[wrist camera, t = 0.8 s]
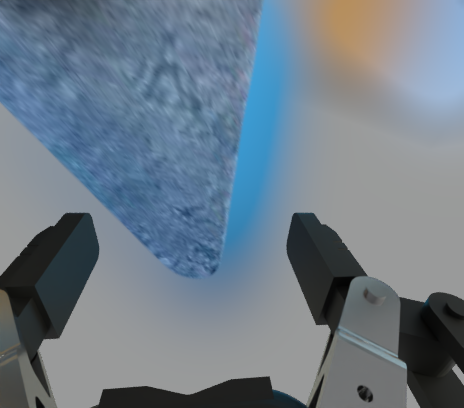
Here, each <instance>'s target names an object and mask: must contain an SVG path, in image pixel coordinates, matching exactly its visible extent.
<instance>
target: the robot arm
mask: <svg viewBox="0 0 464 408" xmlns="http://www.w3.org/2000/svg"><path fill="white" fill-rule="evenodd" d="M287 254H288V258H289V260H290V263H291V265H292V268H293V270H294V272H295V275H296V277H297V279H298V282H299V284H300V287H301V289H302V292H303V294H304V297H305V299H306V301H307V304H308V306H309V309H310V311H311V314H312V316H313V318H314V321H315V323H316V325H328V326H329V328H330V330H331V332H330V334H329V337H328V340H327V343H326V346H325V350H324V353H323V356H322V360H321V363H320V366H319V369H318V372H317V376H316V379H315V382H314V385H313V388H312V391H311V393H310V396H309V399H308V402H307V404H306V405H305V404H303V403H301V402H300V401H299V400H297V399H295V398H293V397H292V396H290V395H288V394H285V393H283V392H280V391H277V390H273V389H272V386H271V381H270V377H256V378H243V379H231V380H228V381H226V382H223V383H220V384H218V385H215V386H212V387H210V388H207V389H205V390H202V391H200V392H197V393H194V394H191V395H185V394H180V393H175V392H171V391H166V390H162V389H157V388H153V387H148V386H142V387H129V388H115V389H104V390H103V392H102V395H101V399H100V402H99V405H96V406H93V407H91V408H406V400H407V399H406V397H407V384H408V386H409V388H410V390H411V392H412V393H413V395H414V397H415V399H416V401H417V402H418V404H419V406H420V408H464V385H463V384H462V382H461V381H460V380H459V378H458V377H457V375H456V374H455V373H454V372H453V370H452V368H453V367H454V366H455V364H457V366H458V367H459V368H460V369H461V371H462V372H463V374H464V300H462V299H460V298H458V297H456V296H453V295H451V294H447V293H441V292H437V293H433V294H431V295H430V296H429V297H428V299H427V300H426V302H425V303H424V302H419V301H415V300H410V299H406V298H401V297H398V295H397V294H396V292H395V291H394V290H393V289H392V288H391V287H390V286H388V285H387V284H385V283H384V282H382V281H380V280H378V279H375V278H372V277H368V276H367V274H366V273H365V272H364V270H363V269H362V267H361V266H360V265H359V263H358V262H357V261H356V259H355V258H354V257H353V255H352V254H351V252H350V251H349V250H348V249H347V247H346V245H345V244H344V243H342V240H341V239H340V237H339V236H338V234H337V233H336V232H335V231H334V230H332V229H331V228H330V227H328V226H327V225H321V223H320V222H319V220H318V219H317V217H316V216H315V214H314V213H294V214H293V216H292V222H291V225H290V230H289V234H288V239H287ZM98 255H99V244H98V240H97V236H96V232H95V228H94V224H93V220H92V217H91V215H90V214H89V213H66V214H64V215H63V216H62V218H61V219H60V220H59V221H58V223H57V224H56V225H55V226H50V227H48V228H47V229H45V230H44V231H42V232H40V233H39V234H37V235H36V236H35V237H34V238H33V239H32V241H31V242H30V243H29V244H28V245H27V247H26V248H25V249H24V250H23V251H22V252H21V253H20V256H18V257H17V258H16V259H15V260H14V261H13V262H12V263H11V264H10V266H9V267H8V268H7V269H6V271H5V272H3V274H2V275H1V276H0V408H57V406H56V403H55V399H54V396H53V393H52V390H51V386H50V383H49V380H48V377H47V374H46V370H45V367H44V364H43V360H42V357H41V354H40V352H39V350H38V349H39V347H40V345H41V343H42V341H43V339H56V338H59V337H60V335H61V334H62V332H63V329H64V327H65V325H66V323H67V321H68V319H69V317H70V315H71V313H72V311H73V309H74V307H75V305H76V303H77V301H78V299H79V297H80V295H81V293H82V290H83V289H84V287H85V284H86V282H87V280H88V278H89V276H90V274H91V272H92V270H93V268H94V266H95V264H96V262H97V260H98Z"/></svg>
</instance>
